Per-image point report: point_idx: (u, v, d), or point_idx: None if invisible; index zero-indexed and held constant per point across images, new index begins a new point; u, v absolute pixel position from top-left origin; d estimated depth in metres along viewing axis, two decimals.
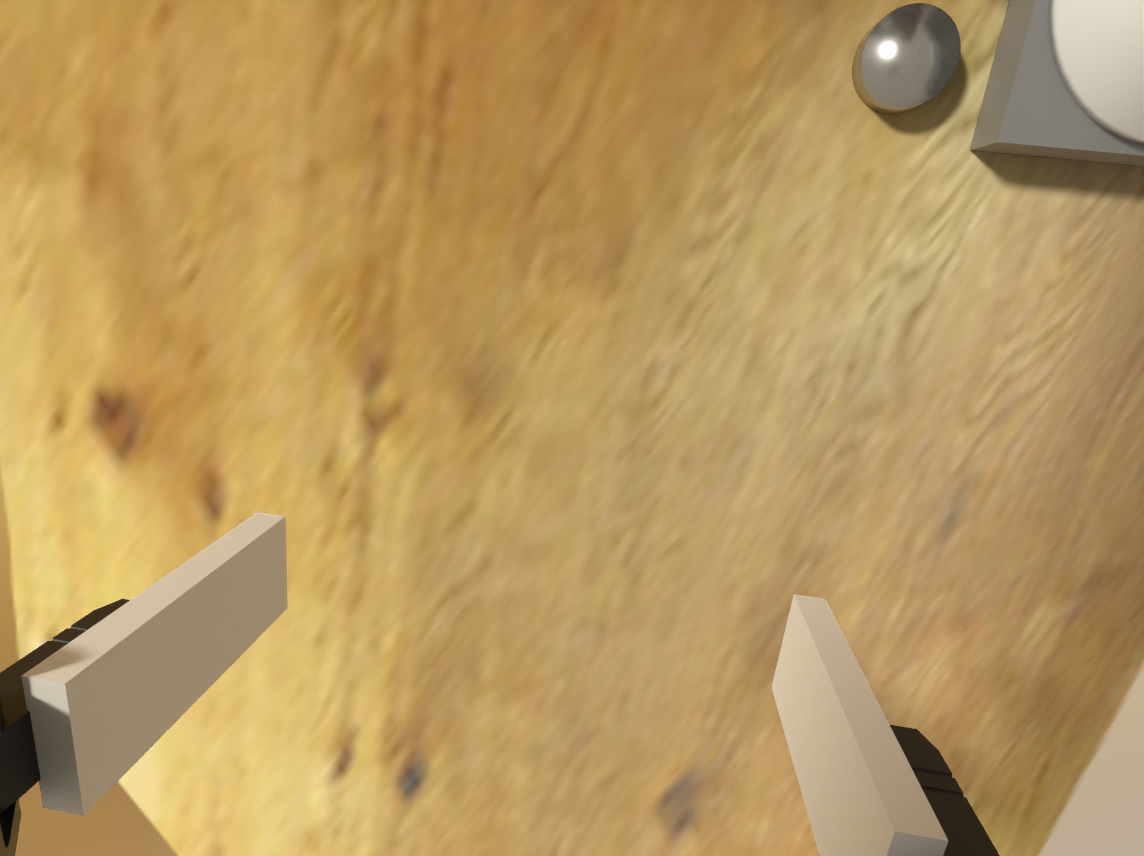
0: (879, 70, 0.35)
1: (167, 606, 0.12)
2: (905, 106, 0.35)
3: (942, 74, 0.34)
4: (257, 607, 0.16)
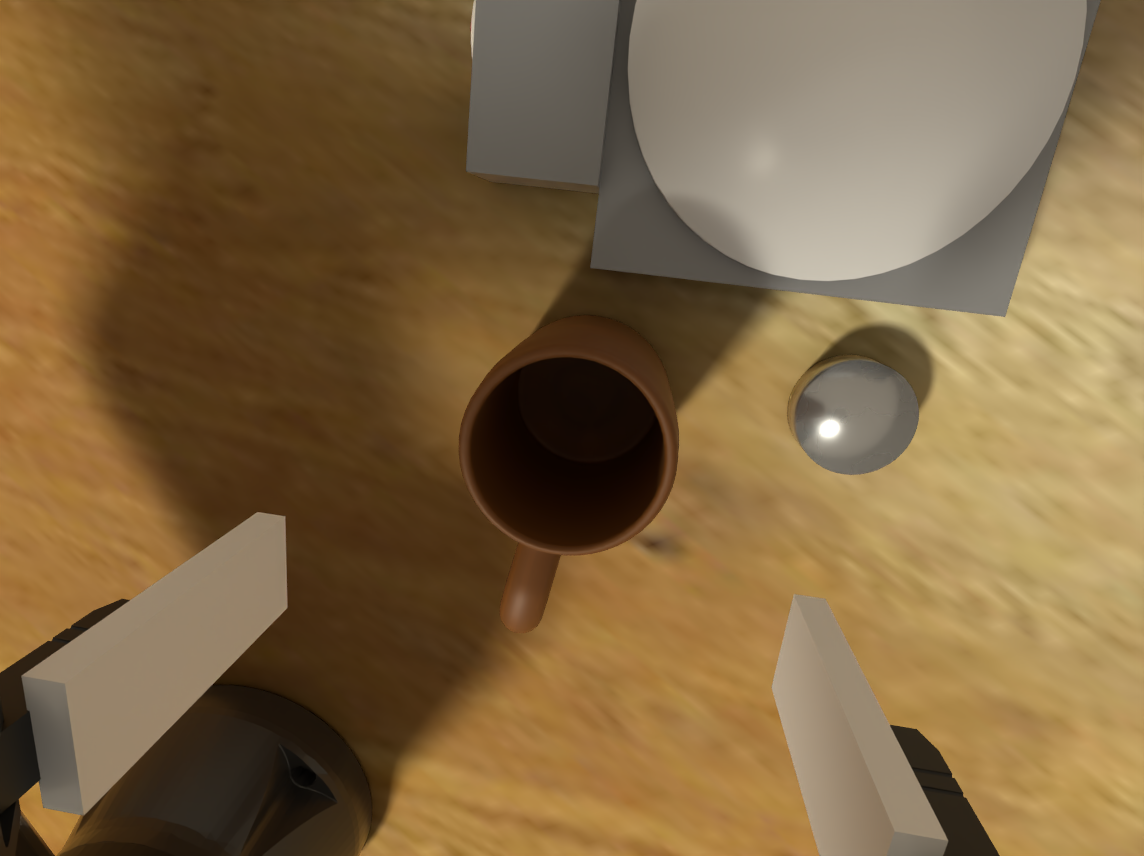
0: (867, 454, 0.28)
1: (167, 606, 0.12)
2: (916, 419, 0.27)
3: (885, 379, 0.27)
4: (257, 607, 0.16)
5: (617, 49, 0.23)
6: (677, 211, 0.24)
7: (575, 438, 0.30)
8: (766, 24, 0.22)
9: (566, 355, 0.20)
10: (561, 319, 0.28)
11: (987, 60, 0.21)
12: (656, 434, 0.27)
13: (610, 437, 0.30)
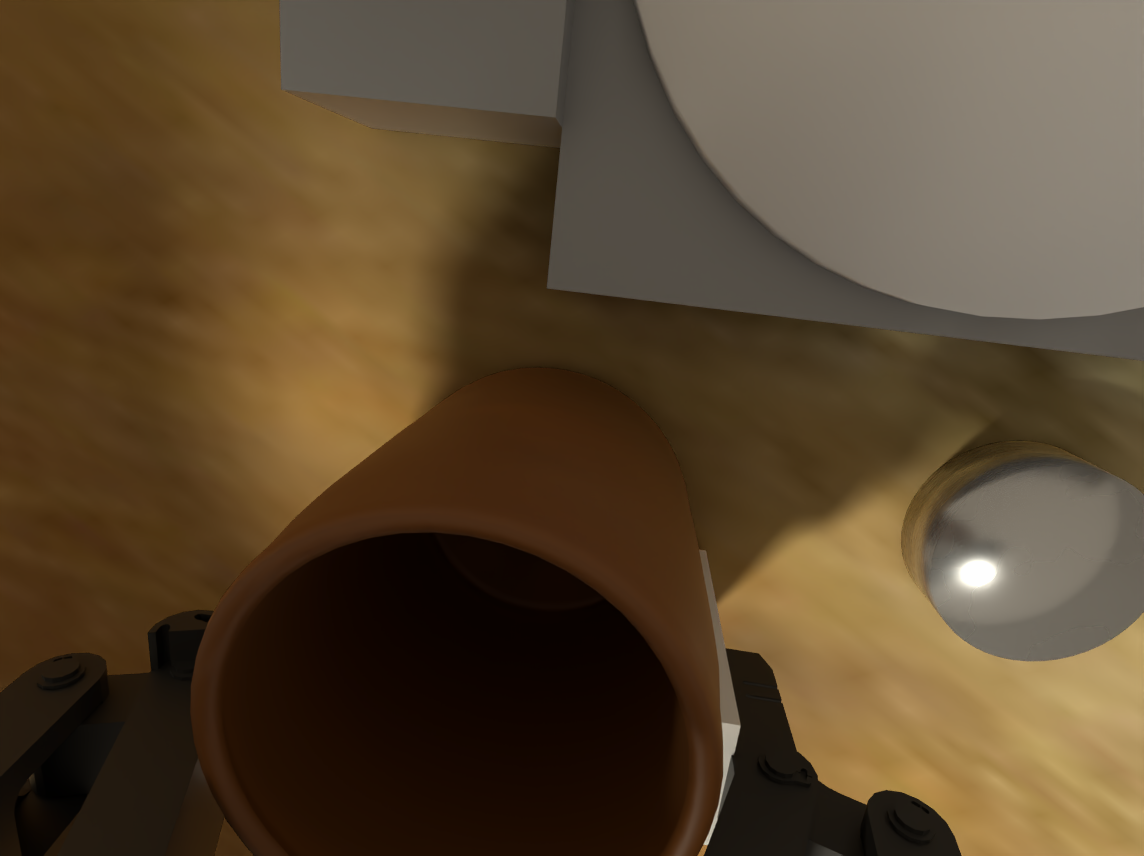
0: (1062, 628, 0.15)
1: None
2: None
3: (1107, 499, 0.14)
4: None
5: None
6: (723, 172, 0.11)
7: (526, 571, 0.18)
8: None
9: (429, 530, 0.08)
10: (488, 378, 0.15)
11: None
12: None
13: None
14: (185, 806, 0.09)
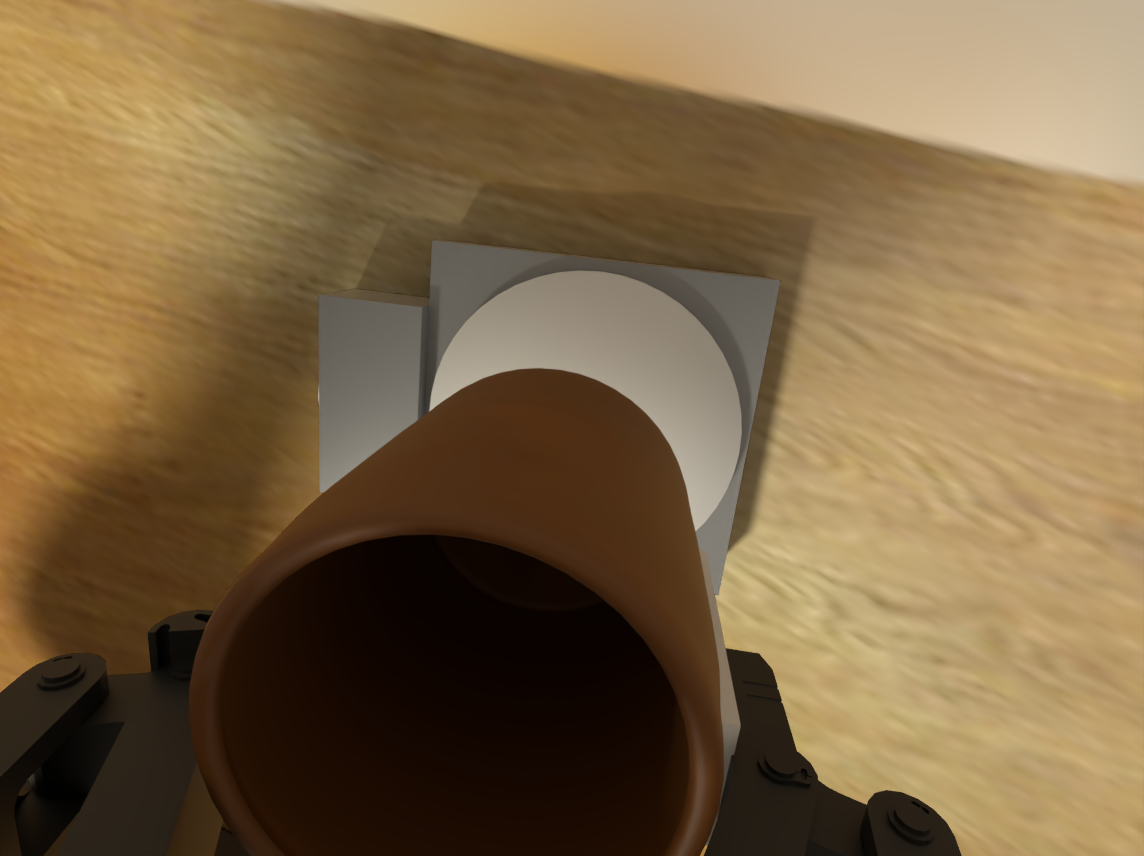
0: None
1: None
2: None
3: None
4: None
5: (425, 410, 0.32)
6: None
7: (526, 572, 0.18)
8: None
9: (428, 532, 0.08)
10: (488, 378, 0.15)
11: (677, 439, 0.30)
12: None
13: None
14: (185, 806, 0.09)
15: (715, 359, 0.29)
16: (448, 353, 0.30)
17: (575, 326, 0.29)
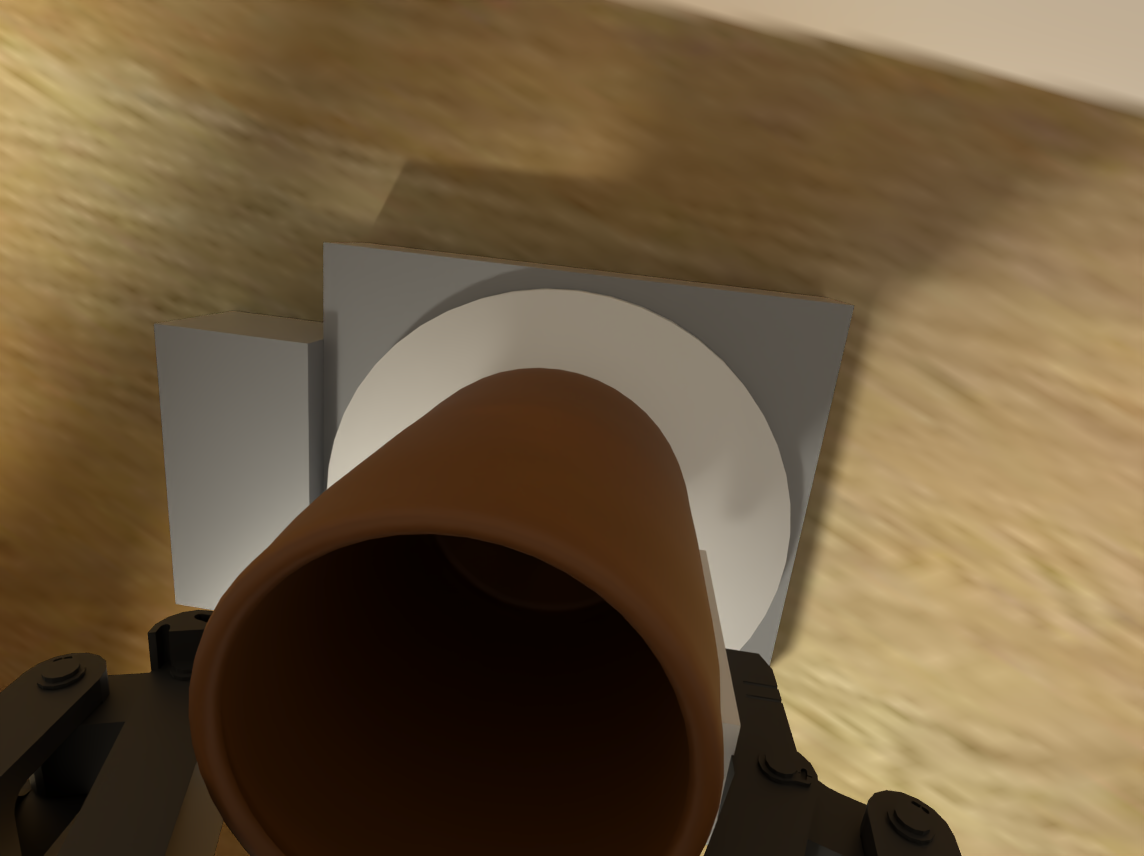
0: None
1: None
2: None
3: None
4: None
5: (325, 490, 0.22)
6: None
7: (526, 571, 0.18)
8: None
9: (427, 532, 0.08)
10: (488, 378, 0.15)
11: None
12: None
13: None
14: (185, 806, 0.09)
15: (752, 424, 0.19)
16: (351, 411, 0.20)
17: None
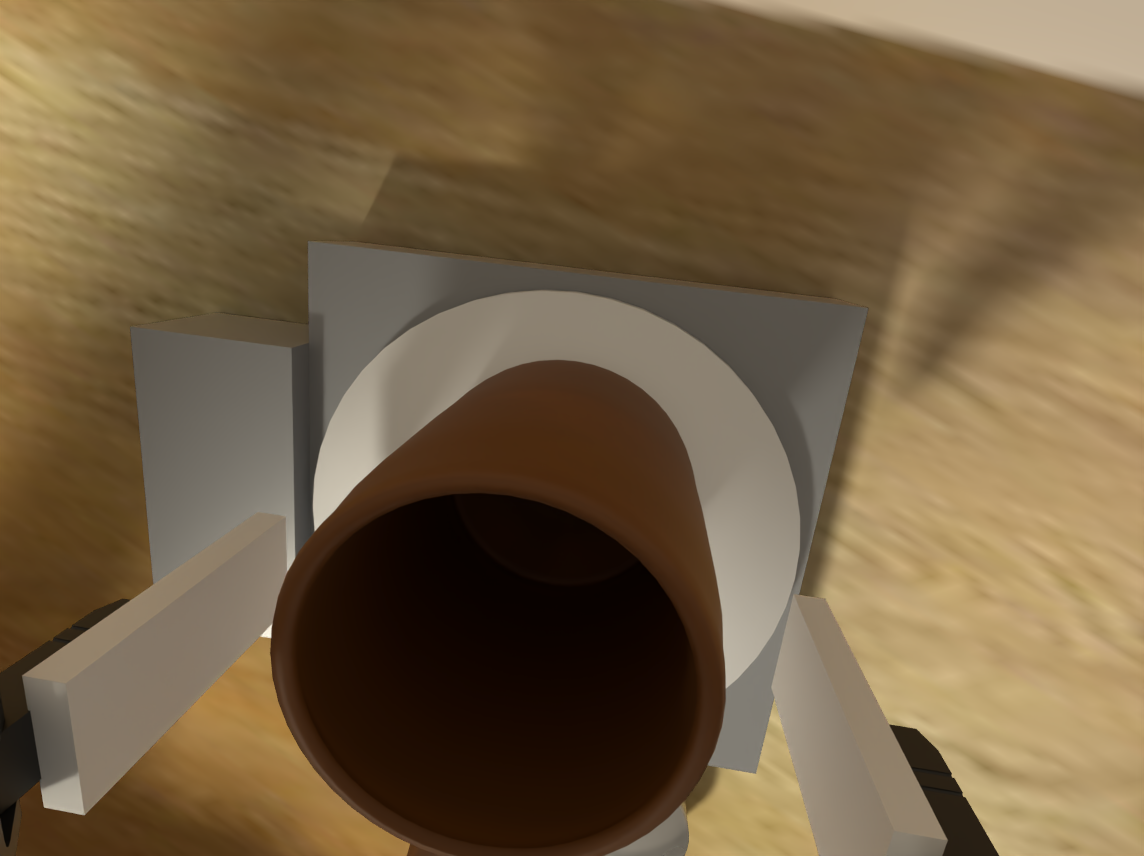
0: None
1: (167, 606, 0.12)
2: (678, 807, 0.24)
3: None
4: (257, 607, 0.16)
5: (312, 500, 0.21)
6: None
7: (545, 548, 0.19)
8: None
9: (477, 491, 0.09)
10: (511, 369, 0.17)
11: None
12: None
13: (600, 548, 0.19)
14: None
15: (760, 434, 0.18)
16: (338, 418, 0.19)
17: None
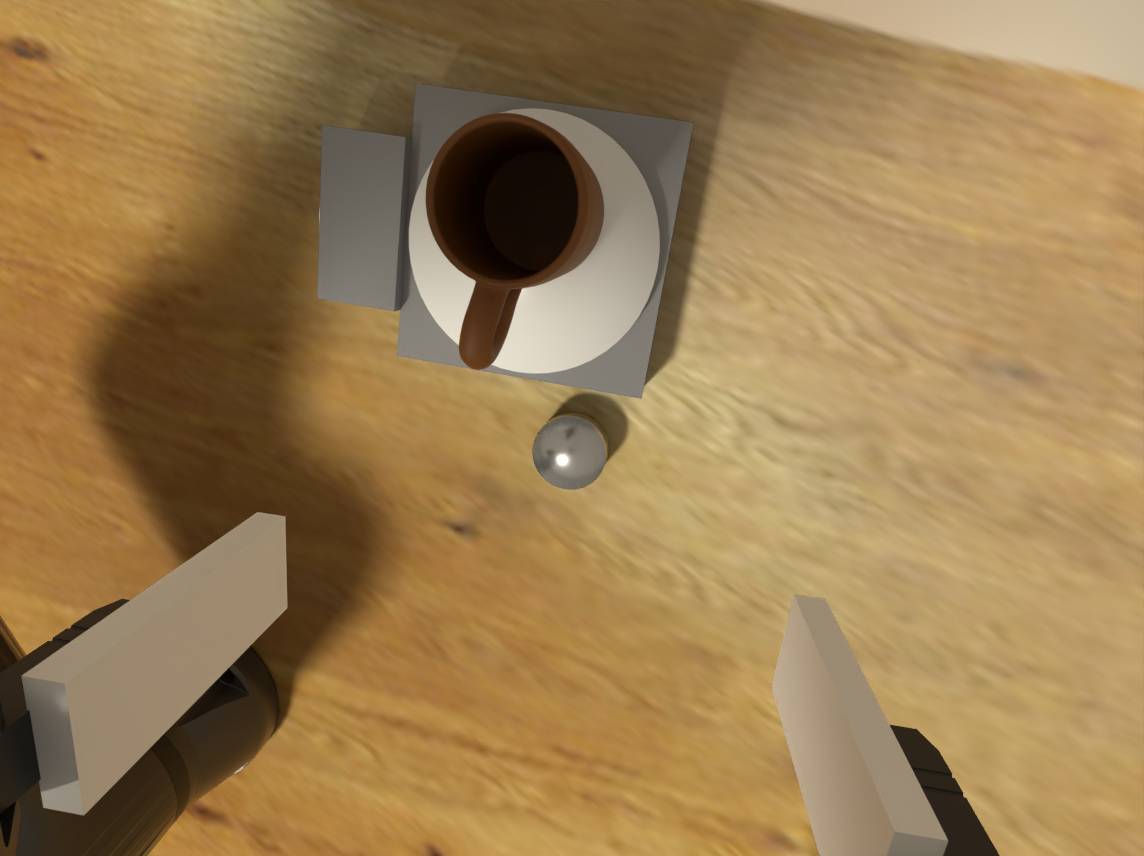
0: (592, 461, 0.43)
1: (167, 606, 0.12)
2: (589, 425, 0.42)
3: (556, 427, 0.43)
4: (257, 607, 0.16)
5: (406, 231, 0.39)
6: (442, 328, 0.40)
7: (530, 250, 0.37)
8: None
9: (504, 119, 0.27)
10: None
11: (608, 255, 0.37)
12: None
13: (558, 249, 0.37)
14: None
15: (639, 186, 0.36)
16: (426, 178, 0.37)
17: None
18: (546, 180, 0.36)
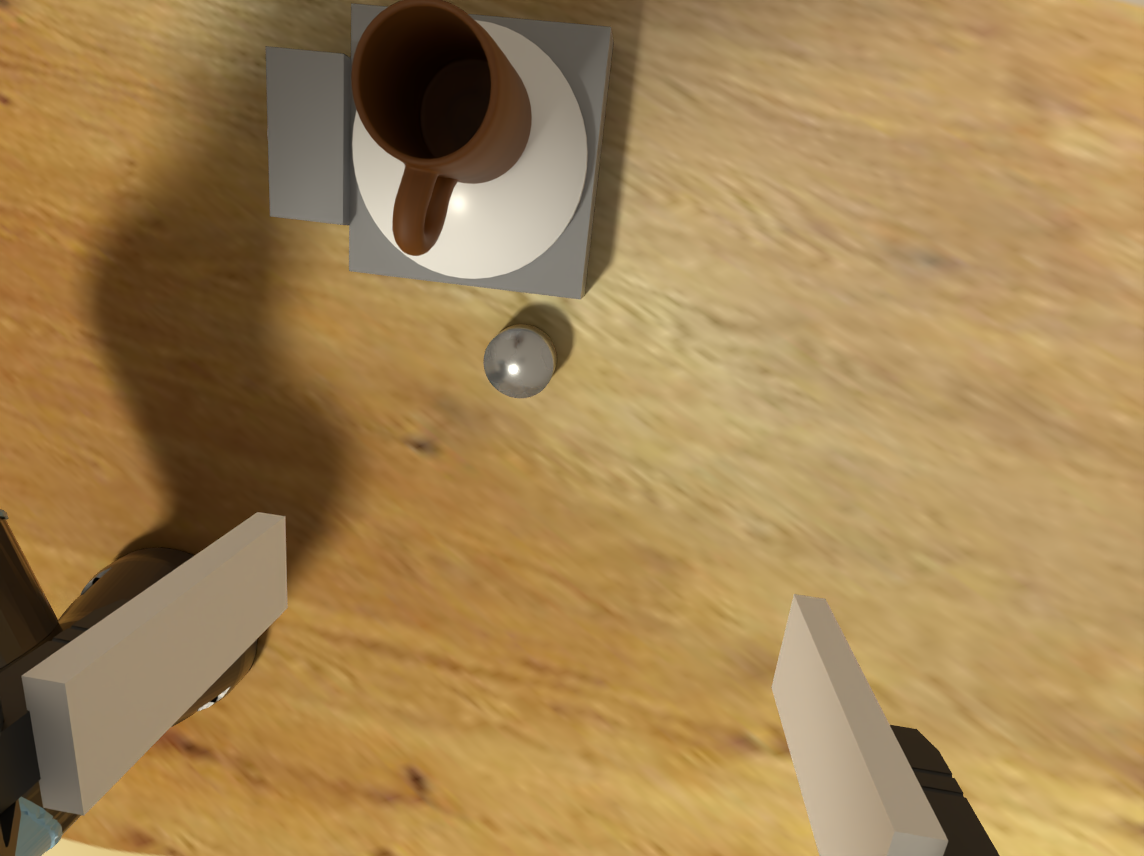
0: (540, 360, 0.45)
1: (167, 606, 0.12)
2: (522, 330, 0.44)
3: (495, 346, 0.45)
4: (257, 607, 0.16)
5: (351, 148, 0.41)
6: (389, 239, 0.42)
7: None
8: None
9: (418, 3, 0.29)
10: None
11: (539, 158, 0.40)
12: None
13: None
14: None
15: (563, 89, 0.38)
16: None
17: None
18: (477, 88, 0.39)
